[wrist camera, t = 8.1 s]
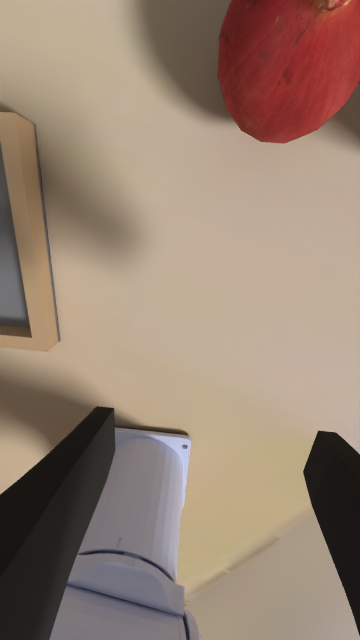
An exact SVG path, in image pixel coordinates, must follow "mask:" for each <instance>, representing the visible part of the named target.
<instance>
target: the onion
mask: <svg viewBox="0 0 360 640" xmlns="http://www.w3.org/2000/svg"><path fill="white" fill-rule="evenodd" d="M218 78H219V82H220V86H221V90H222V93H223V97H224V101H225V104H226V108H227V110H228V112H229V113H230V115H231V116H232V118H233V119H234V120H235V122H236V123H237V125H238V126H239V128H240V129H241V131H243V132H245V133H247V134H248V135H250V136H252V137H254V138H255V139H257V140H259V141H261V142H271V143H287V142H289V141H292V140H294V139H297V138H299V137H302V136H304V135H307V134H309V133H311V132H313V131H315V130H318V129H319V128H320V127H321V126H322V125H323V124H324V123H325V122H327V121H328V120H329V119H330V118H331V117H332V116H333V115H335V114H336V113H337V112H338V111H339V110H340V109H341V108H342V107H343V106H344V104H345V103H346V102H347V100H348V99H349V98H350V96H351V95H352V93H353V92H354V90H355V88H356V87H357V85H358V84H359V82H360V0H231V3H230V5H229V8H228V11H227V14H226V16H225V19H224V22H223V24H222V28H221V32H220V36H219V56H218Z"/></svg>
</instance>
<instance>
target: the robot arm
mask: <svg viewBox="0 0 360 640" xmlns="http://www.w3.org/2000/svg"><path fill="white" fill-rule="evenodd" d="M190 447H191V438H190V437H189V436H187V435H180V434H171V433H162V432H153V431H144V430H135V429H125V428H116V427H115V422H114V408H107V407H98V406H97V407H96V408H95V409H94V410H93V411H92V412H91V413H90V414H89V415H88V416H87V417H86V418H85V419H84V420H83V421H82V422H81V423H80V424H79V425H78V426H77V427H76V428H75V429H74V430H73V431H72V432H71V433H70V434H69V435H68V436H67V437H66V438H64V439H63V440H62V441H61V442H60V443H59V444H58V445H57V446H56V447H55V448H54V449H53V450H52V451H51V452H50V453H49V454H47V455H46V456H45V457H44V458H43V459H42V460H41V461H40V462H38V463H37V464H36V465H35V466H34V467H33V468H32V469H30V470H29V471H28V472H27V473H26V474H25V475H23V476H22V477H21V478H20V479H19V480H18V481H16V482H15V483H14V484H13V485H12V486H10V487H9V488H8V489H7V490H5V491H4V492H3V493H2V494H0V640H202V638H201V635H200V632H199V630H198V626H197V623H196V620H195V618H194V616H193V614H192V613H191V612H190V611H188V610H185V609H184V594H185V588H184V586H181V585H178V584H176V578H177V562H178V547H179V531H180V516H181V509H182V508H183V507H184V499H185V490H186V482H187V473H188V464H189V456H190ZM303 473H304V477H305V481H306V485H307V489H308V493H309V496H310V500H311V504H312V507H313V509H314V512H315V515H316V517H317V520H318V522H319V525H320V528H321V531H322V533H323V536H324V538H325V541H326V543H327V546H328V549H329V551H330V554H331V556H332V559H333V562H334V564H335V567H336V569H337V572H338V575H339V577H340V580H341V582H342V585H343V587H344V590H345V593H346V596H347V598H348V601H349V604H350V607H351V609H352V612H353V616H354V619H355V622H356V625H357V629H358V632H359V635H360V454H359V453H358V452H357V451H356V450H354V449H353V448H352V447H351V446H350V445H349V444H348V443H347V442H346V441H345V440H344V439H343V438H342V437H341V436H339V435H338V434H337V433H335V432H326V431H318V433H317V435H316V438H315V441H314V444H313V446H312V449H311V452H310V454H309V457H308V460H307V462H306V465H305V468H304V471H303Z"/></svg>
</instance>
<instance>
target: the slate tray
mask: <svg viewBox="0 0 360 640" xmlns="http://www.w3.org/2000/svg"><path fill="white" fill-rule="evenodd" d="M59 341H60V334H59V325H58V317H57V308H56V300H55V291H54V283H53V274H52V265H51V257H50V248H49V240H48V231H47V223H46V214H45V205H44V197H43V188H42V180H41V171H40V163H39V154H38V146H37V137H36V128H35V124H34V123H32V122H30V121H28V120H27V119H25V118H23V117H21V116H19V115H18V114H16V113H12V112H0V347H4V348H15V349H25V350H35V351H45V352H48V351H49V350H50V349H51V348H53V347H54V346H55V345H56V344H57V343H58V342H59Z"/></svg>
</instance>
